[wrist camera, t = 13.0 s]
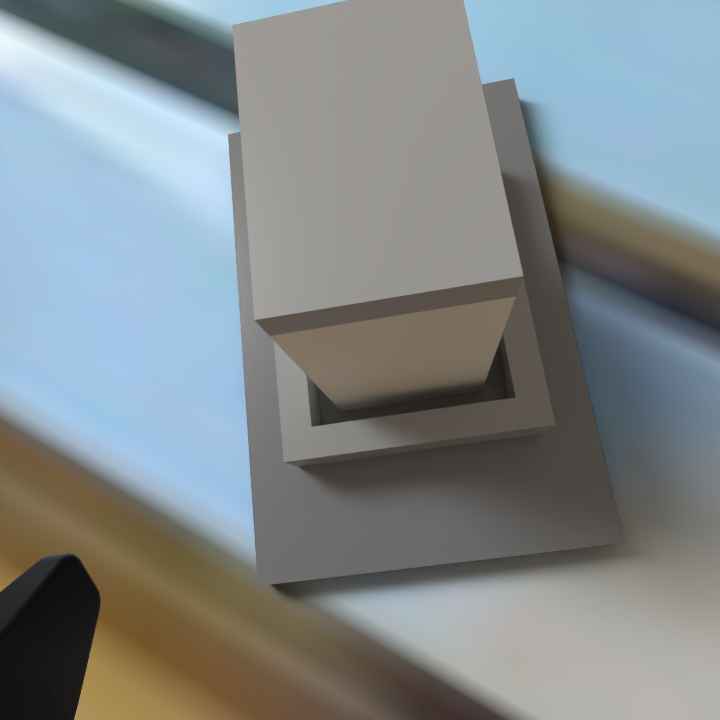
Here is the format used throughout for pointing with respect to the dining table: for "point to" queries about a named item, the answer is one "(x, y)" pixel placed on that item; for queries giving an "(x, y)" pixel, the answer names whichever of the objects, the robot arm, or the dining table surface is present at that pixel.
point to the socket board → (431, 429)
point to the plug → (374, 199)
